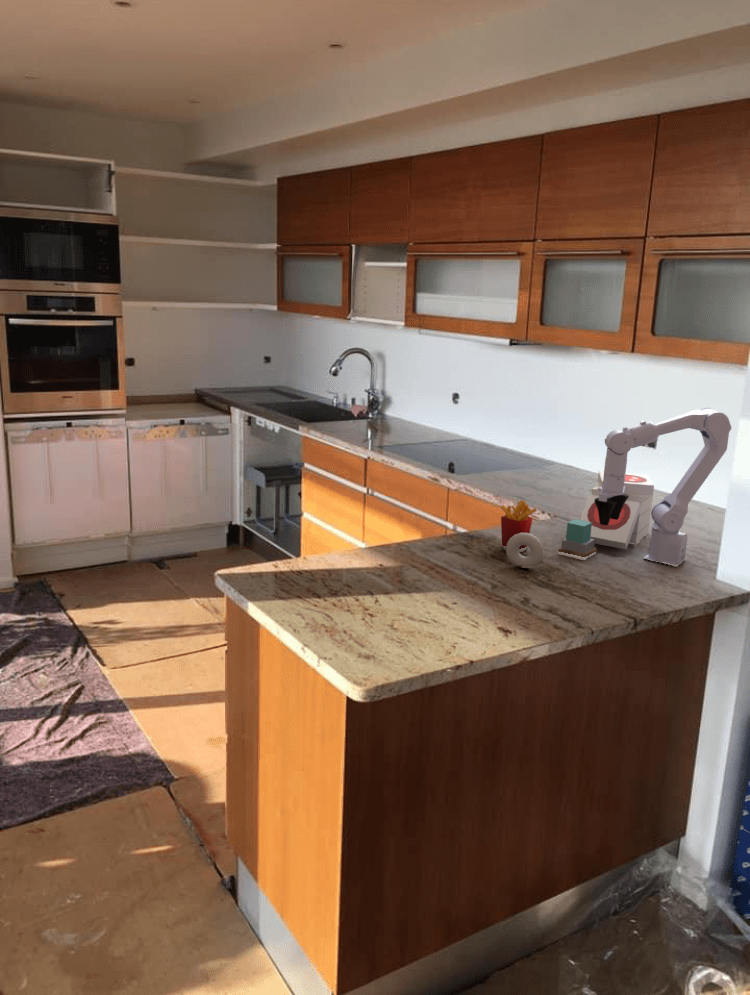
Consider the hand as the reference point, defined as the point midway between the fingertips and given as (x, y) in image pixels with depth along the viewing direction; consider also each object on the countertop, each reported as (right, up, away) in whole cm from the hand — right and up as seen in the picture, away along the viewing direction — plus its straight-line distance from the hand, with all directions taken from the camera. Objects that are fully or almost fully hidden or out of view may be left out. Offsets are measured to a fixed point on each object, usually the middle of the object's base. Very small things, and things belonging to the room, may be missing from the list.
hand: (609, 521), depth 234 cm
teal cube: (-8, -5, +3) cm, 10 cm away
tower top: (-8, -8, +4) cm, 12 cm away
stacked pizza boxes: (+7, -6, +20) cm, 22 cm away
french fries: (-24, -9, +5) cm, 26 cm away
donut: (-26, -12, -10) cm, 30 cm away
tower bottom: (-8, -10, +4) cm, 14 cm away
